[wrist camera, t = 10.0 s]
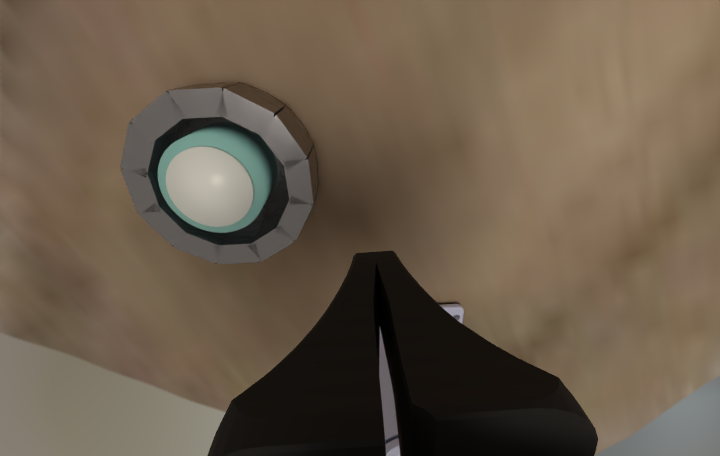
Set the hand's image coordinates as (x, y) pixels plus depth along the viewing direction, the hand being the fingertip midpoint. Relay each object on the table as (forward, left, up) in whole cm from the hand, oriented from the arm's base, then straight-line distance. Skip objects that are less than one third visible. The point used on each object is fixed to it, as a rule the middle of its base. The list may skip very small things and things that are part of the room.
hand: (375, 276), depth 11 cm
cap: (+1, +8, -9) cm, 12 cm away
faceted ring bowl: (+1, +7, -10) cm, 12 cm away
